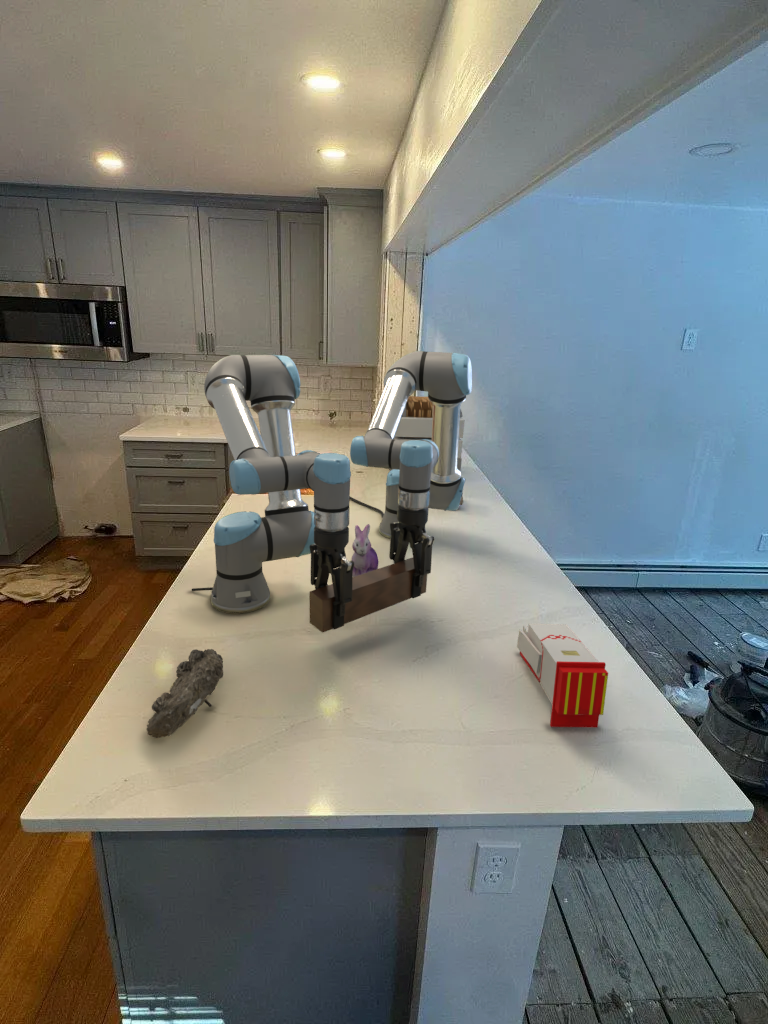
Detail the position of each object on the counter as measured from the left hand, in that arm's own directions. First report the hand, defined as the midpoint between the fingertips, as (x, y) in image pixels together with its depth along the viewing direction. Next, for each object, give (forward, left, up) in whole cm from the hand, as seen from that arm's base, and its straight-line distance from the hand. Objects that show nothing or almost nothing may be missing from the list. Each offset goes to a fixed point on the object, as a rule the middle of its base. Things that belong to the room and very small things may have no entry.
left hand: (330, 621), depth 129 cm
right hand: (+14, +19, 0) cm, 24 cm away
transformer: (-6, +155, -7) cm, 155 cm away
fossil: (-20, -27, -7) cm, 34 cm away
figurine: (-3, +40, -7) cm, 41 cm away
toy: (+50, +1, -7) cm, 51 cm away
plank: (+7, +10, 0) cm, 12 cm away
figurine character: (+15, +113, -7) cm, 114 cm away
